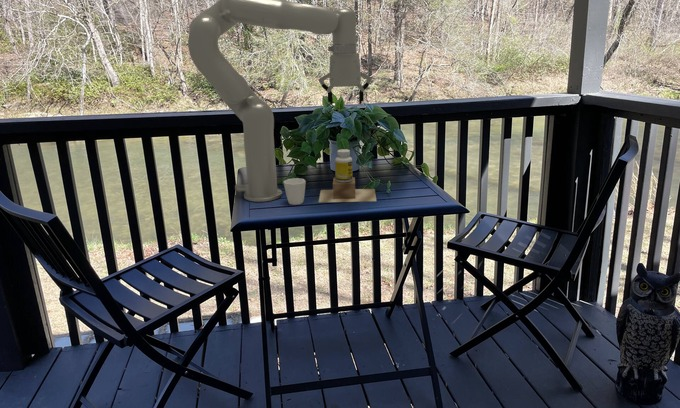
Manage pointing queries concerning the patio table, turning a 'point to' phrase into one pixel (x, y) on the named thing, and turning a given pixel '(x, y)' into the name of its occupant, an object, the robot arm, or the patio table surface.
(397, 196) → the patio table surface
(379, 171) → the patio table surface
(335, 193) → the block
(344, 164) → the supplement bottle
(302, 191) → the cup
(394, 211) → the patio table surface
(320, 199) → the board
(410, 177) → the patio table surface
